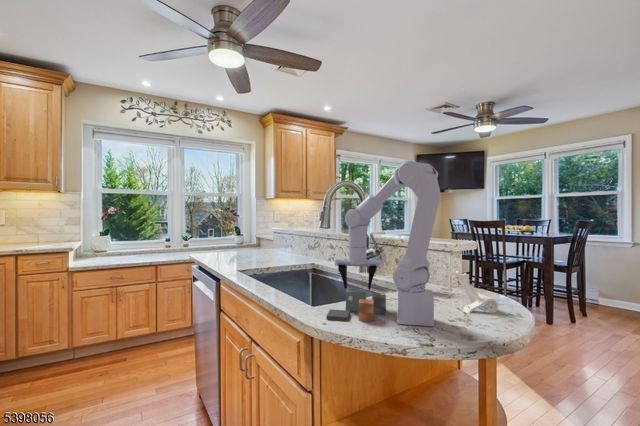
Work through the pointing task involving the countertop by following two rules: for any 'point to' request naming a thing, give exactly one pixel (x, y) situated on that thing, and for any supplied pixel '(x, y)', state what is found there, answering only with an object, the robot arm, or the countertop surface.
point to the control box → (354, 298)
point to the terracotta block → (366, 310)
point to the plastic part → (476, 297)
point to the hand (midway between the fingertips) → (357, 288)
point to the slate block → (379, 303)
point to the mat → (338, 315)
